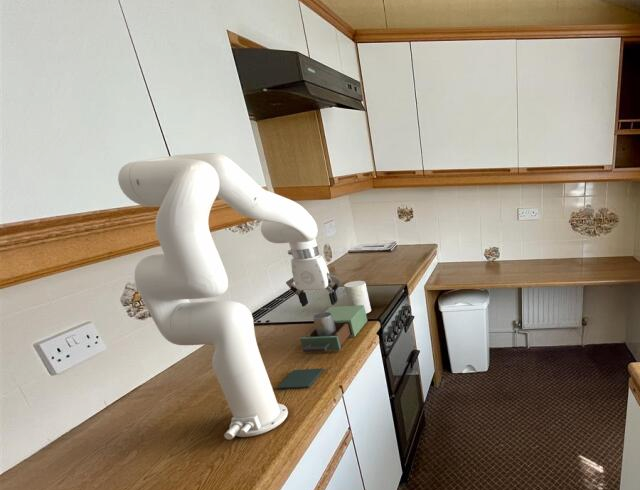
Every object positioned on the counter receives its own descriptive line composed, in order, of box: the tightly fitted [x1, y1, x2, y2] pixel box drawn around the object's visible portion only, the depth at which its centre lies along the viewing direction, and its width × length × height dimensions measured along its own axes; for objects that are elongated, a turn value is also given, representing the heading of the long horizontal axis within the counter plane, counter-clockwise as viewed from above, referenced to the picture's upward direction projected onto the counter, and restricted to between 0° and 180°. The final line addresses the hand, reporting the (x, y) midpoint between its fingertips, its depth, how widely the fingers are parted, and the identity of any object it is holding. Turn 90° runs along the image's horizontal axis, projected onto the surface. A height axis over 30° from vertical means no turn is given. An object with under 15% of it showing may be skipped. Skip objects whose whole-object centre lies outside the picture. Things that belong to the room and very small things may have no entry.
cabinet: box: [324, 305, 368, 338], centre depth 150 cm, size 15×13×7 cm
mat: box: [276, 368, 324, 390], centre depth 119 cm, size 10×9×1 cm
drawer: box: [299, 322, 352, 353], centre depth 137 cm, size 18×12×5 cm, turn 1°
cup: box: [343, 280, 372, 315], centre depth 166 cm, size 8×8×12 cm
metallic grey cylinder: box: [312, 311, 337, 337], centre depth 137 cm, size 6×6×9 cm
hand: (319, 304), depth 134 cm, fingers open, 9 cm apart
